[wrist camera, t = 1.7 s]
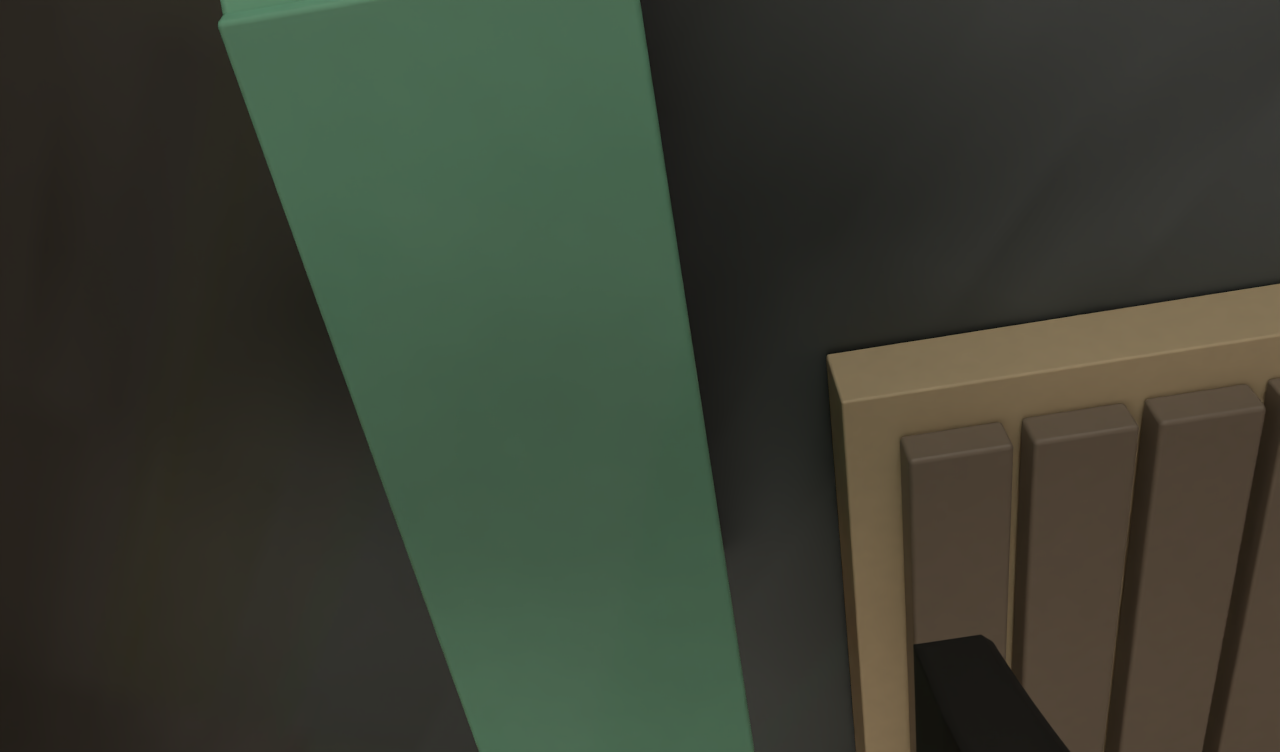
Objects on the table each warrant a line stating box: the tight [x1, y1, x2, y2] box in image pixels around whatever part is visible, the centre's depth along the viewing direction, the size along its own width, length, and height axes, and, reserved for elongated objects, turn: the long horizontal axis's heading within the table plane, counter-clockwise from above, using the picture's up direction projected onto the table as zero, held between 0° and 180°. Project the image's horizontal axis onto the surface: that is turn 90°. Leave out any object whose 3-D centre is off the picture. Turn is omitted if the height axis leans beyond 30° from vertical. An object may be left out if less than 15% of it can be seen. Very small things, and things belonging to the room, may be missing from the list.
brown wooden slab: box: [826, 284, 1280, 752], centre depth 25 cm, size 10×20×2 cm, turn 9°
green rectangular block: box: [218, 0, 754, 752], centre depth 17 cm, size 14×4×5 cm, turn 9°
